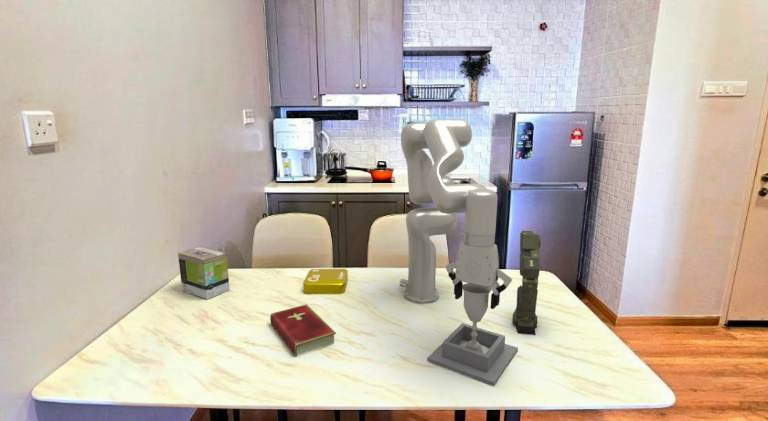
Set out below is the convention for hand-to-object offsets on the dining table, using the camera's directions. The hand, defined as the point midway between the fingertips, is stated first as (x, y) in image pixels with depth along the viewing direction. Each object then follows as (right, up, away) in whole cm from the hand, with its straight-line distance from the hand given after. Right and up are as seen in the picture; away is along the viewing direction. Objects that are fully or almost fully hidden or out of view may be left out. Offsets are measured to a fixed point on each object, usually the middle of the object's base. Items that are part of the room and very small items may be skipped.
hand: (475, 302), depth 107 cm
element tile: (-45, -5, +49) cm, 67 cm away
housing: (0, -15, +3) cm, 16 cm away
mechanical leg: (+19, -11, +20) cm, 30 cm away
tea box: (-89, -6, +45) cm, 100 cm away
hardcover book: (-48, -13, +15) cm, 52 cm away
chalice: (0, -14, +3) cm, 14 cm away
